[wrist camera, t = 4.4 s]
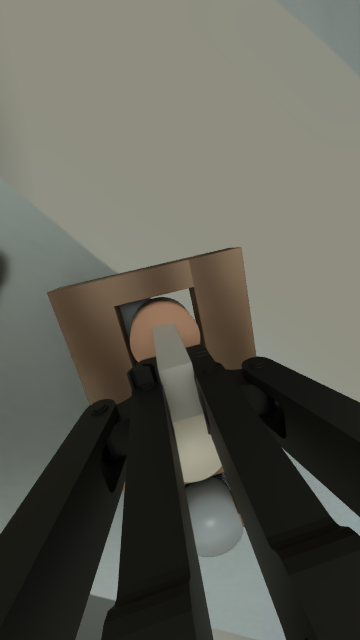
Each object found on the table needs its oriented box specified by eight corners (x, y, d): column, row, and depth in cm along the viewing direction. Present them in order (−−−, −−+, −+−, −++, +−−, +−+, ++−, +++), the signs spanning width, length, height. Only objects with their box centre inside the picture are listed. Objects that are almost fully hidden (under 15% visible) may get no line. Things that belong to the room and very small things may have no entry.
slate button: (186, 522, 25) (193, 564, 21) (175, 486, 23) (181, 525, 20) (232, 507, 25) (246, 545, 22) (225, 471, 24) (238, 506, 20)
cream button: (166, 454, 22) (170, 490, 19) (152, 409, 21) (154, 439, 17) (218, 438, 23) (231, 470, 19) (208, 393, 21) (221, 419, 18)
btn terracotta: (140, 360, 21) (140, 380, 18) (124, 305, 20) (120, 316, 16) (195, 345, 21) (206, 362, 18) (184, 290, 20) (192, 298, 17)
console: (148, 531, 27) (149, 558, 25) (58, 287, 19) (47, 292, 16) (266, 493, 28) (277, 515, 26) (229, 247, 20) (241, 247, 18)
